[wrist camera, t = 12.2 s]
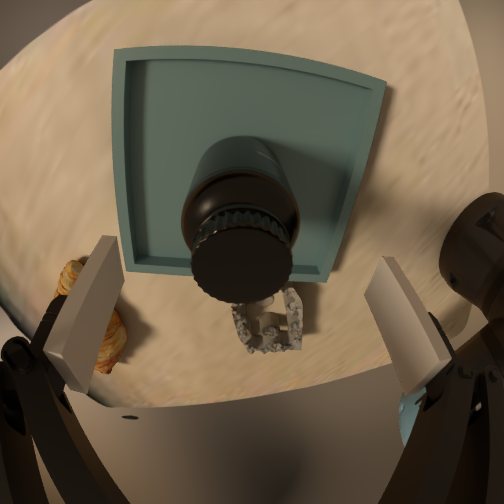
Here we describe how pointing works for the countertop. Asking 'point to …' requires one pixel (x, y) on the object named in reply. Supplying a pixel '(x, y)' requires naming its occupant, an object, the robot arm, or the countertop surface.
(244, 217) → the supplement bottle
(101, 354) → the croissant
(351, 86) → the tray
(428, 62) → the countertop surface
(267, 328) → the egg carton
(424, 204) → the countertop surface
